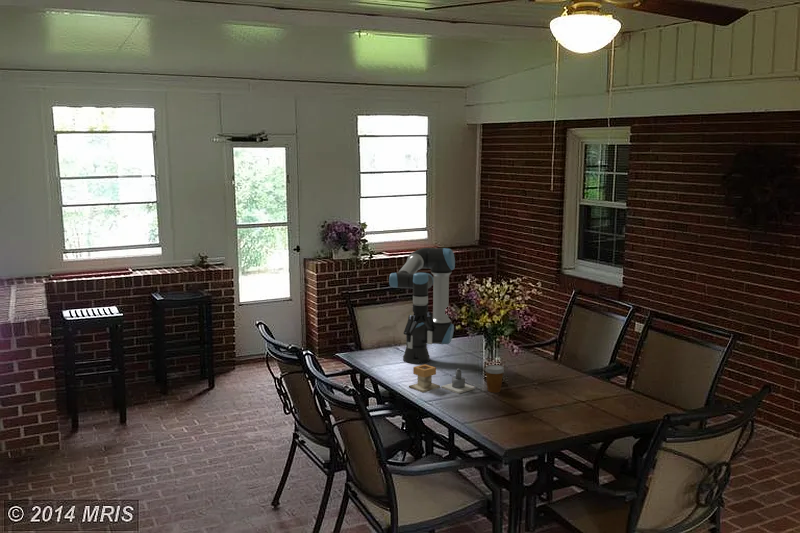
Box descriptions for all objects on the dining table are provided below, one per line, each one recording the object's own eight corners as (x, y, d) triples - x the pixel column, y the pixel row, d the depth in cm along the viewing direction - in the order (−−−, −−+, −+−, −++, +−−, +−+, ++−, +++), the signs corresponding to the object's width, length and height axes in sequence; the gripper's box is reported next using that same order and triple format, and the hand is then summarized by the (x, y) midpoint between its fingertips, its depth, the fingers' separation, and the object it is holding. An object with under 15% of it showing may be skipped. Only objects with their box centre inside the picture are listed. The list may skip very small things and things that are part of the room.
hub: (458, 383, 376) (458, 364, 375) (475, 388, 367) (475, 369, 366) (441, 388, 369) (441, 368, 367) (458, 393, 360) (458, 374, 358)
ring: (425, 370, 374) (425, 364, 373) (435, 374, 368) (436, 367, 367) (413, 373, 368) (413, 367, 368) (424, 377, 362) (424, 370, 362)
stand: (426, 382, 377) (426, 364, 375) (440, 387, 369) (440, 368, 368) (408, 387, 369) (409, 368, 367) (422, 392, 361) (422, 372, 360)
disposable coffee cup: (503, 394, 359) (503, 370, 357) (483, 393, 361) (484, 369, 359) (504, 388, 368) (505, 365, 367) (485, 387, 370) (485, 364, 368)
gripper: (433, 300, 374) (432, 340, 377) (396, 306, 358) (396, 348, 361) (443, 302, 369) (442, 343, 372) (407, 308, 352) (406, 351, 355)
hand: (419, 346), depth 366 cm, fingers open, 13 cm apart
